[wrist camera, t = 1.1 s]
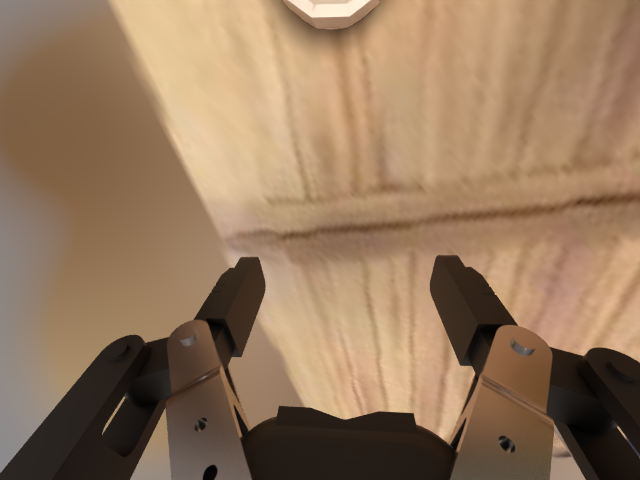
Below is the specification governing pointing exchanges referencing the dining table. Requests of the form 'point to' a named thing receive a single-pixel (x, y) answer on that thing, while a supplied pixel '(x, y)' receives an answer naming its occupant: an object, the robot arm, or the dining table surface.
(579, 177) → the dining table surface
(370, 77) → the dining table surface
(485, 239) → the dining table surface
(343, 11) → the bowl
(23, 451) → the robot arm
